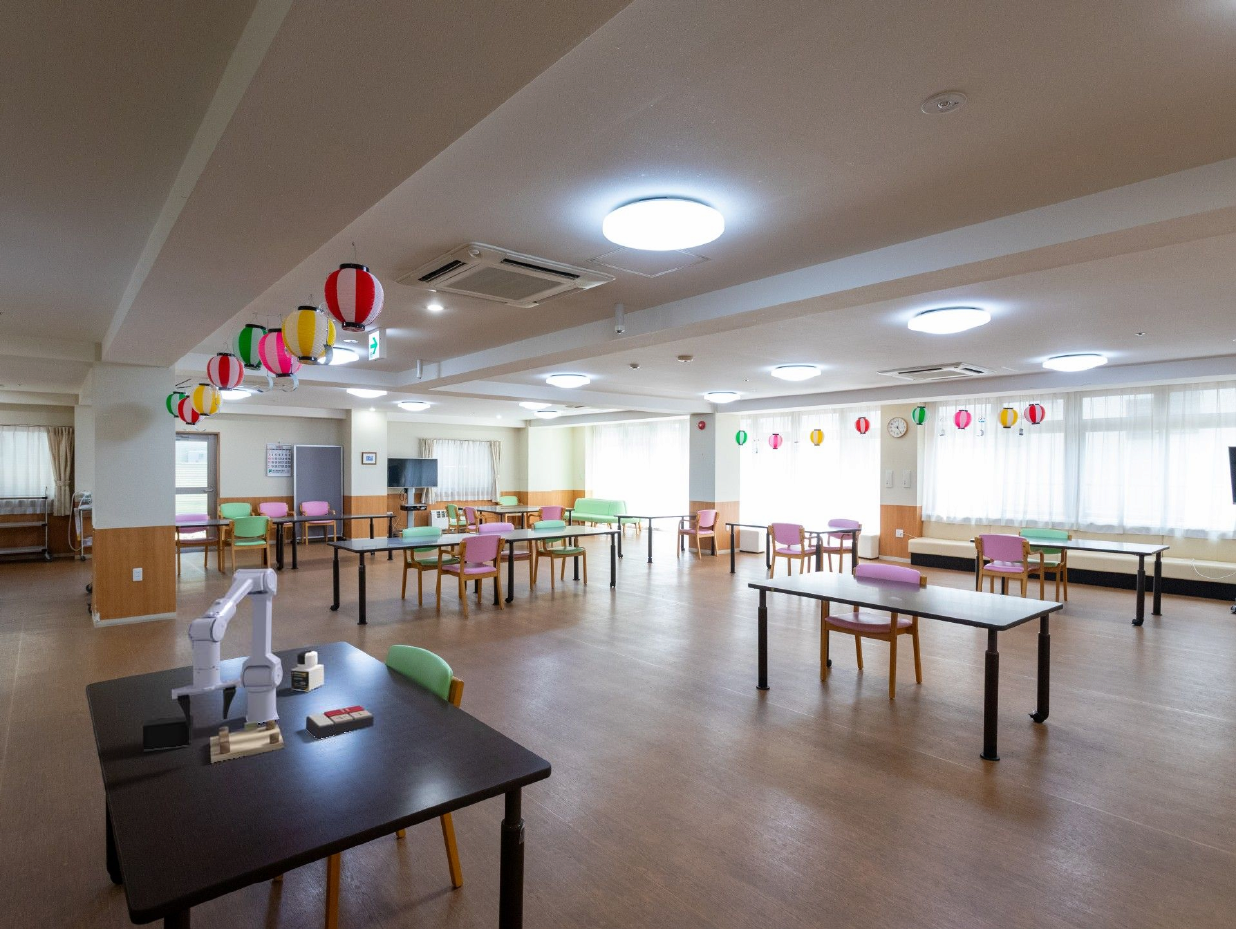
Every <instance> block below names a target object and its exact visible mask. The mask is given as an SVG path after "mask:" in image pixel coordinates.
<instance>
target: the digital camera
mask: <svg viewBox="0 0 1236 929" xmlns="http://www.w3.org/2000/svg"><path fill="white" fill-rule="evenodd" d="M190 719H191V726H189V727H187V721H186V717H185V715H184V716H176V717H168V718H167V717H159V718H157V719H149V720H148V721H147V722H146V723H144V725H143V726H142V750H143V749H154V748H162V747H163V748H164V747H176V746H182V745H189V746H190V744H189V740H190V743H191V741H192V740H193V739H194V738H195V737H194V733H195V732H194V715H190Z"/></svg>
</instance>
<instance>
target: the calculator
mask: <svg viewBox="0 0 1236 929" xmlns="http://www.w3.org/2000/svg"><path fill="white" fill-rule="evenodd" d="M374 719H375V718H374V715H372V713H371V712H369V711H367V710H366V709H365V708H364V707H362V706H361V705H354V706H349V707H343V708H338V709H333V710H329V711H328V710H327V711H324V712H319V713H316V714H310V715H308V716H306V719H305V730H306V729H307V730H308V731H309V732H310V733H311V734H312V735H313V736H315V738H317V739H321V738H325V739H327V738H326V737H329V736H333V735H335V734H338V735H342V734H341V733H343V734H345V733H344V732H348V733H350V732H349V731H352V732H355V731H354V730H356V731H358V730H357V729H360V730H364V729H366V728H365V727H367V728H371V727H373V726H374V725H375V724H374V721H375V720H374ZM370 726H371V727H370ZM307 730H306V731H307ZM308 731H307V732H308ZM309 732H308V733H309ZM310 733H309V734H310ZM311 734H310V735H311ZM312 735H311V736H312ZM313 736H312V737H313ZM335 736H336V735H335ZM333 737H334V736H333ZM315 738H314V739H315ZM329 738H330V737H329ZM321 740H322V739H321Z"/></svg>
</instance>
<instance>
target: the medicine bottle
mask: <svg viewBox="0 0 1236 929" xmlns="http://www.w3.org/2000/svg"><path fill="white" fill-rule="evenodd" d="M296 658H297V659H296V661H297V663H296V664H297V666H296V667H294V668H291V670H290V671H291V672H290V673H291V674H290V678H291V679H290V683H291V685H290V686H291V688H292V689H301V690H306V691H310V690H311V689H314V688H316V687H318V686H320V685H323V684H324V685H325V668H324V667H325V666H324V664H320V663H319V662H318V652H317V651H315V650H305V651H301V652H299V653H298V654H297V655H296ZM318 663H319V664H318Z"/></svg>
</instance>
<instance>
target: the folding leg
mask: <svg viewBox="0 0 1236 929" xmlns="http://www.w3.org/2000/svg"><path fill="white" fill-rule="evenodd" d="M229 734H230V733H229V726H222V727H221V726H220V727H219V728H218V736H219V742H220V745H221V744H223V743H229Z"/></svg>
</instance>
